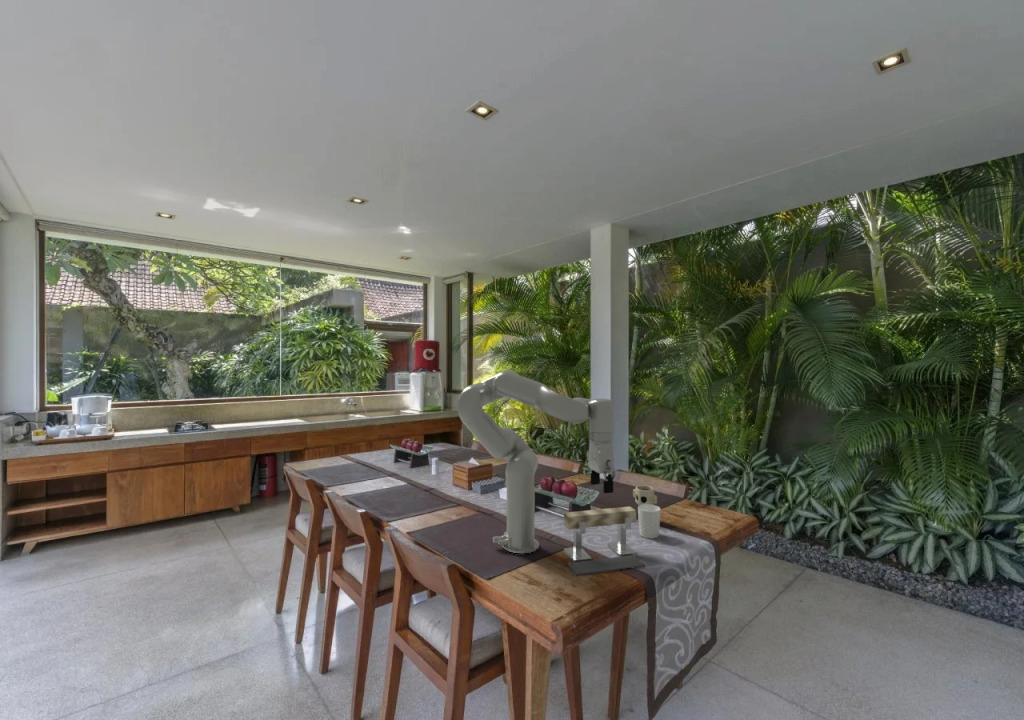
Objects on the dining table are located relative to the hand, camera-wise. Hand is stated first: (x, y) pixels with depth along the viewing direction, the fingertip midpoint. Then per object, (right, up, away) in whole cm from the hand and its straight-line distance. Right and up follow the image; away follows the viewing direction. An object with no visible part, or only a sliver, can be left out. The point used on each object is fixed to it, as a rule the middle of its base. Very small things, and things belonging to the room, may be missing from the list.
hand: (601, 488), depth 154 cm
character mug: (+23, -21, +30) cm, 43 cm away
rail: (0, -12, 0) cm, 12 cm away
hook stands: (0, -22, +1) cm, 22 cm away
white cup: (+20, -22, +16) cm, 34 cm away
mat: (0, -22, -8) cm, 23 cm away
